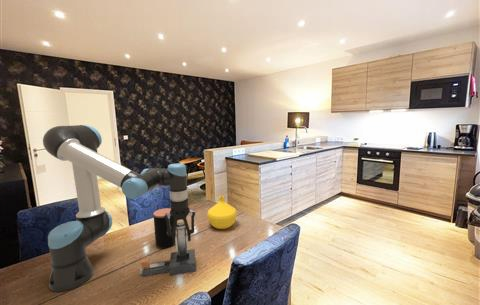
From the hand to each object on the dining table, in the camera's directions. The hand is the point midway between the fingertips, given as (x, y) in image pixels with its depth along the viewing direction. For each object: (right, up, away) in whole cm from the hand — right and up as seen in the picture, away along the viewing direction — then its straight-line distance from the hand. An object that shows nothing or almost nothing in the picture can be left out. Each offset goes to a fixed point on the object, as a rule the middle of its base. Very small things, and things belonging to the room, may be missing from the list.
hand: (182, 248), depth 102 cm
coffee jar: (-14, -6, +20) cm, 25 cm away
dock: (-5, -9, 0) cm, 10 cm away
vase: (+15, -3, +40) cm, 43 cm away
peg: (0, -3, 0) cm, 3 cm away
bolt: (-12, -9, -2) cm, 15 cm away
